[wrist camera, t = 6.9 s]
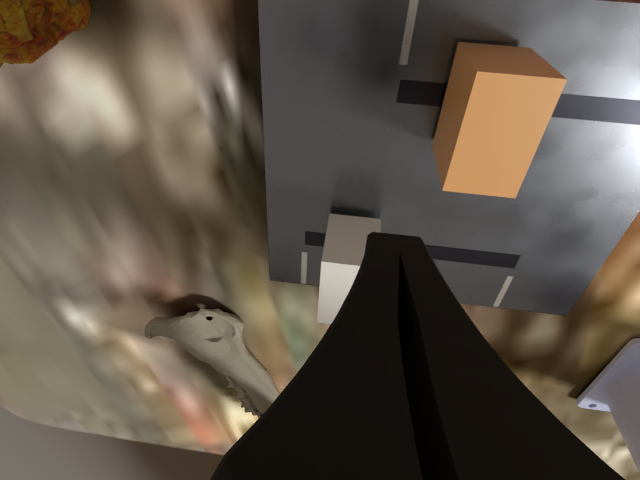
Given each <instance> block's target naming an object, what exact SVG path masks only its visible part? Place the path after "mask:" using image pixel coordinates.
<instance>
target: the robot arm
mask: <svg viewBox="0 0 640 480" xmlns="http://www.w3.org/2000/svg"><path fill="white" fill-rule="evenodd" d="M576 402H577V405H578V406H579V407H581V408H587V409H595V410H602V411H610V412H611V413H612V415H613V417H614V420H615V422H616V424H617V426H618V428H619V430H620V432H621V434H622V437H623V439H624V441H625V443H626V445H627V447H628V449H629V452H630V454H631V456H632V458H633V460H634V462H635V464H636V466H637V469H638V471H639V473H640V338H635V339H632V340H630V341H629V342H628V343H627V344H626V345H625V346H624V348H623V349H622V350H621V351H620V352H619V353H618V354H617V355H616V356H615V357H614V359H613V360H612V361H611V362H610V363H609V364H608V365H607V366H606V367H605V369H604V370H603V371H602V372H601V373H600V374H599V375H598V376H597V377H596V378H595V380H594V381H593V382H592V383H591V384H590V385H589V386H588V387H587V388H586V390H585V391H584V392H583V393H582V394H581V395H580V396H579V397H578V398H577V400H576ZM210 480H625V479H624V478H623V477H621V476H620V475H619V474H618V473H617V472H615V471H614V470H613V469H612V468H611V467H609V466H608V465H607V464H606V463H605V462H604V461H603V460H601V459H600V458H599V457H598V456H597V455H596V454H595V453H594V452H593V451H591V450H590V449H589V448H588V447H587V446H586V445H585V444H584V443H583V442H582V441H581V440H579V439H578V438H577V437H576V436H575V435H574V434H573V433H572V432H571V431H570V430H569V429H567V428H566V427H565V426H564V425H563V424H562V423H561V422H560V421H559V420H558V419H557V418H556V417H555V416H554V415H553V414H552V413H551V412H550V411H549V410H548V409H547V408H546V407H545V406H544V405H543V404H542V403H541V402H540V401H539V400H538V399H537V398H536V397H535V396H534V395H533V393H532V392H531V391H530V390H529V389H528V388H527V387H526V386H525V385H524V384H523V383H522V382H521V381H520V380H519V379H518V378H517V376H516V375H515V374H514V373H513V372H512V371H511V370H510V369H509V367H508V366H507V365H506V364H505V363H504V362H503V360H502V359H501V358H500V357H499V356H498V354H497V353H496V352H495V351H494V350H493V348H492V347H491V346H490V345H489V343H488V342H487V341H486V339H485V338H484V337H483V336H482V334H481V333H480V332H479V330H478V329H477V327H476V326H475V325H474V323H473V322H472V321H471V319H470V318H469V316H468V315H467V314H466V312H465V311H464V309H463V308H462V306H461V305H460V303H459V302H458V300H457V299H456V297H455V295H454V294H453V292H452V291H451V289H450V288H449V286H448V284H447V283H446V281H445V280H444V278H443V276H442V275H441V273H440V271H439V269H438V268H437V266H436V264H435V262H434V260H433V259H432V257H431V255H430V253H429V251H428V249H427V247H426V245H425V243H424V241H423V240H422V239H421V237H418V236H408V235H399V234H389V233H380V232H371V233H370V234H368V235H367V241H366V247H365V253H364V257H363V260H362V263H361V266H360V268H359V271H358V273H357V275H356V278H355V280H354V282H353V285H352V287H351V289H350V291H349V293H348V295H347V297H346V298H345V300H344V302H343V304H342V306H341V308H340V310H339V312H338V313H337V315H336V317H335V319H334V320H333V322H332V324H331V325H330V327H329V328H328V330H327V332H326V333H325V335H324V336H323V338H322V339H321V341H320V342H319V344H318V345H317V347H316V348H315V349H314V351H313V352H312V354H311V355H310V356H309V358H308V359H307V361H306V362H305V364H304V365H303V366H302V368H301V369H300V370H299V371H298V373H297V374H296V375H295V377H294V378H293V379H292V380H291V382H290V383H289V384H288V385H287V386H286V388H285V389H284V390H283V391H282V392H281V393H280V395H279V396H278V397H277V398H276V399H275V401H274V402H273V403H272V404H271V405H270V407H269V408H268V409H267V410H266V411H265V412H264V413H263V415H262V416H261V417H260V418H259V419H258V420H257V421H256V422H255V423H254V424H253V425H252V426H251V427H250V428H249V429H248V431H247V432H246V433H245V434H244V435H243V436H242V437H241V438H240V439H239V440H238V441H237V442H236V443H235V444H234V445H233V446H232V447H231V448H230V449H229V451H228V452H227V453H226V454H225V455H224V457H223V459H222V460H221V462H220V464H219V465H218V467H217V469H216V470H215V472H214V474H213V475H212V477H211V479H210Z"/></svg>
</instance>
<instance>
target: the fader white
mask: <svg viewBox="0 0 640 480" xmlns="http://www.w3.org/2000/svg"><path fill="white" fill-rule="evenodd" d="M371 232H380V233H381V219H376V218H366V217H357V216H348V215H339V214H330V213H329V219H328V225H327V231H326V237H325V243H324V249H323V255H322V261H321V273H320V287H319V301H318V315H317V322H319V323H327V324H332V322H333V320H334V319H335V317H336V315H337V313H338V312H339V310H340V308H341V306H342V304H343V302H344V300H345V298H346V297H347V295H348V293H349V291H350V289H351V287H352V285H353V282H354V280H355V278H356V275H357V273H358V271H359V268H360V266H361V263H362V260H363V257H364V253H365V247H366V241H367V235H368V234H370V233H371Z"/></svg>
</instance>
